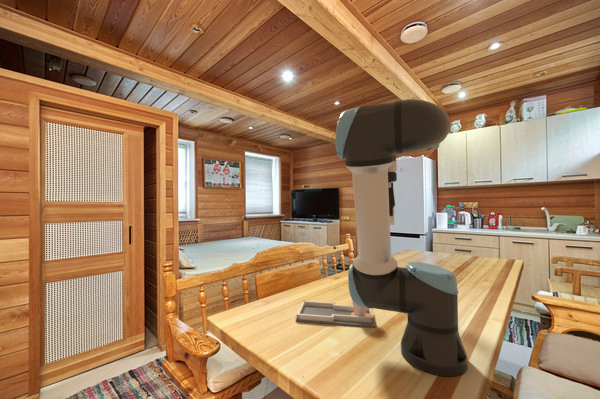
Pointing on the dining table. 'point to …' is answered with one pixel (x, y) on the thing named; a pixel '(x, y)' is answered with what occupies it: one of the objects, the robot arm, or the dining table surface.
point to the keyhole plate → (333, 314)
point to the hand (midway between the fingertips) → (387, 223)
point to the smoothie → (358, 310)
